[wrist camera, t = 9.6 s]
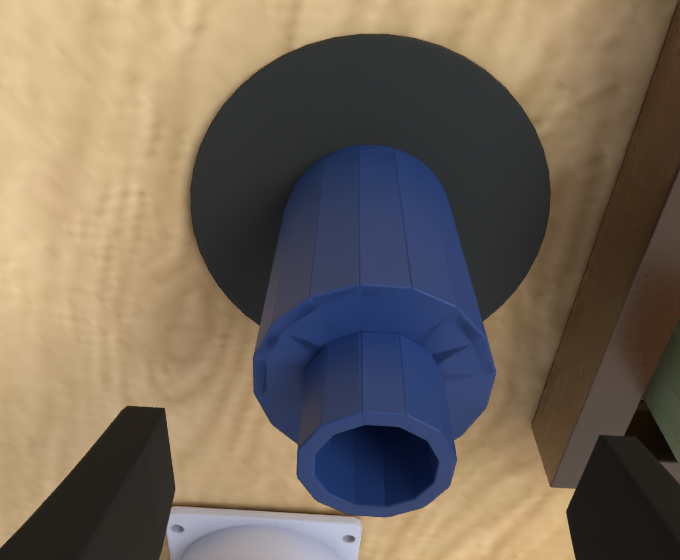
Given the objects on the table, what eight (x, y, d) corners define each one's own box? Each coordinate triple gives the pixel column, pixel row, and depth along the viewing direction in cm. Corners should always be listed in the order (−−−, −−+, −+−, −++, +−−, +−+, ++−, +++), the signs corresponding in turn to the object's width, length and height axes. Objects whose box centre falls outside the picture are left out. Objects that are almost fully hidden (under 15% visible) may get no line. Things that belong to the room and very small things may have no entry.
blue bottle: (436, 294, 18) (486, 557, 11) (284, 283, 18) (240, 543, 11) (463, 150, 16) (549, 374, 9) (287, 137, 16) (231, 354, 9)
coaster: (504, 361, 20) (506, 368, 20) (203, 342, 20) (201, 348, 20) (593, 49, 15) (598, 52, 14) (178, 18, 14) (174, 21, 14)
